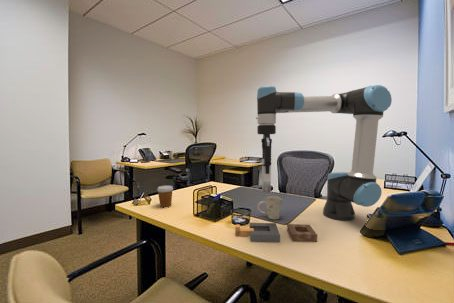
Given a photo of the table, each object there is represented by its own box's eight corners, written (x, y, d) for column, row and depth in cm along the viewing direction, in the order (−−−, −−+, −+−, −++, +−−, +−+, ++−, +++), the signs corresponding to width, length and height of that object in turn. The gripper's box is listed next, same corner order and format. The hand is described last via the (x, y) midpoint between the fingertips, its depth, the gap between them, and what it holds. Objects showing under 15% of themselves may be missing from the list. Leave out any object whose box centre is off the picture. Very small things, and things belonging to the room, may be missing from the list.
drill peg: (270, 190, 97) (270, 158, 96) (271, 192, 93) (271, 159, 92) (261, 190, 97) (261, 158, 96) (262, 192, 93) (262, 159, 92)
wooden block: (253, 233, 98) (253, 224, 98) (254, 236, 96) (254, 227, 95) (235, 233, 99) (235, 224, 99) (235, 236, 96) (235, 227, 96)
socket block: (275, 229, 102) (275, 223, 102) (280, 242, 90) (280, 235, 90) (249, 228, 103) (249, 222, 103) (250, 241, 91) (250, 234, 91)
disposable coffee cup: (161, 203, 142) (161, 185, 141) (176, 204, 140) (175, 185, 139) (154, 208, 132) (154, 188, 131) (170, 209, 131) (169, 189, 130)
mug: (282, 221, 112) (282, 201, 111) (256, 219, 114) (256, 200, 114) (281, 214, 120) (281, 196, 119) (257, 213, 123) (257, 195, 122)
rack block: (309, 231, 100) (309, 224, 100) (317, 241, 90) (317, 234, 90) (287, 230, 101) (287, 224, 101) (292, 241, 91) (292, 234, 91)
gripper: (256, 125, 101) (256, 176, 103) (258, 124, 85) (259, 184, 87) (272, 125, 101) (272, 176, 103) (278, 123, 84) (278, 184, 86)
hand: (266, 180), depth 95 cm, fingers closed on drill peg, 3 cm apart
